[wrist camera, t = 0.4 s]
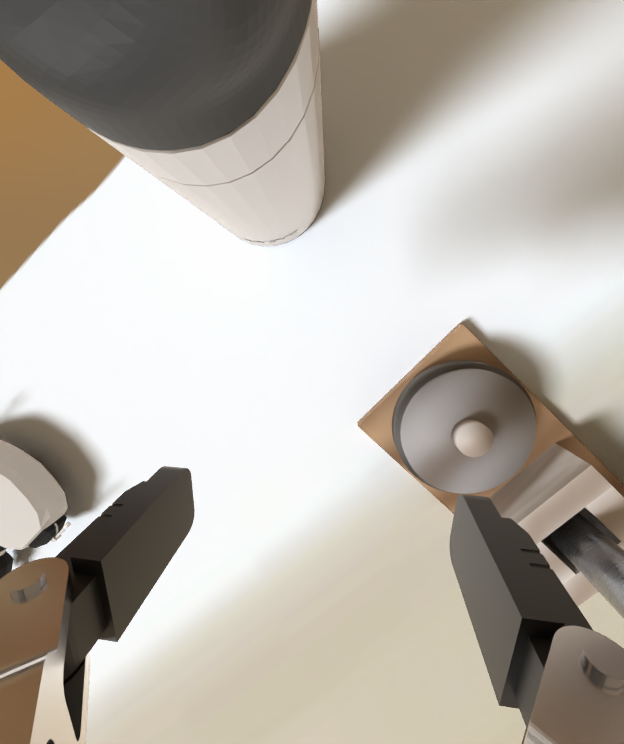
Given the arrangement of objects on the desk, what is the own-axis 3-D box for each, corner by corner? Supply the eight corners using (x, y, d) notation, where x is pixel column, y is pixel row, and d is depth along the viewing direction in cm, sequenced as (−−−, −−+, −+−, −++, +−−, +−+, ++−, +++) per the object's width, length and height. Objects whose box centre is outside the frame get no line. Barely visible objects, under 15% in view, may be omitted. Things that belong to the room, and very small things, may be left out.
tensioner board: (357, 422, 30) (362, 446, 25) (458, 324, 28) (487, 328, 23) (528, 579, 32) (565, 631, 27) (634, 499, 30) (696, 539, 25)
